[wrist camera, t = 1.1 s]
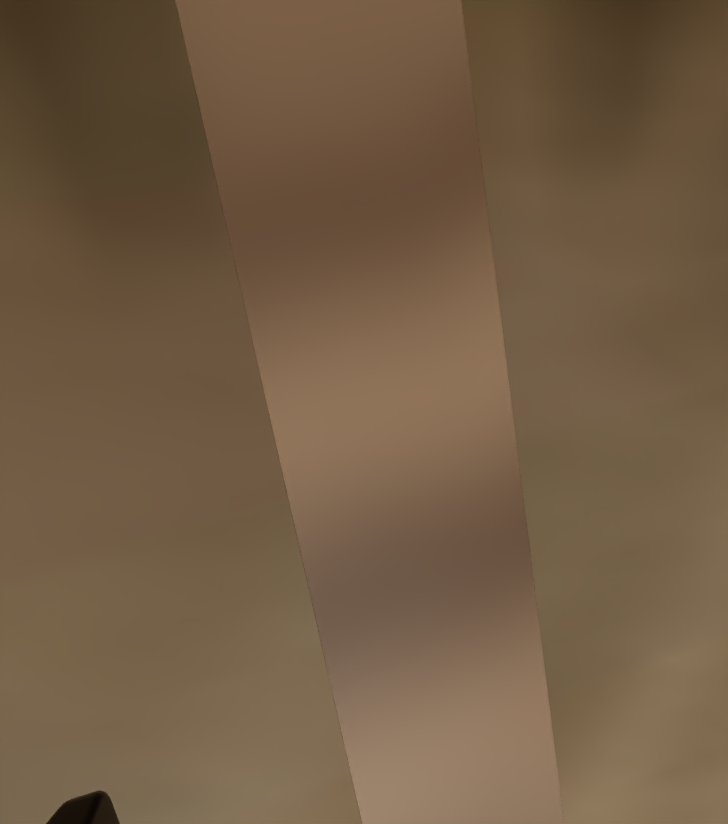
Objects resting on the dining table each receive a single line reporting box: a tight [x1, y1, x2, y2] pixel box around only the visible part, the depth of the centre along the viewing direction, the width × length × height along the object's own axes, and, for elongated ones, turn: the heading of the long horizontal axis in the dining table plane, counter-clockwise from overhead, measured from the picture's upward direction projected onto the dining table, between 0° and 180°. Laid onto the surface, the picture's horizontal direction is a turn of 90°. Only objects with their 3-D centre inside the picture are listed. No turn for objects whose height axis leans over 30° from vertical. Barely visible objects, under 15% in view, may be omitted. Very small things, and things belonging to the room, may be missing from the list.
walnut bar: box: [175, 0, 564, 824], centre depth 12 cm, size 18×4×5 cm, turn 11°
